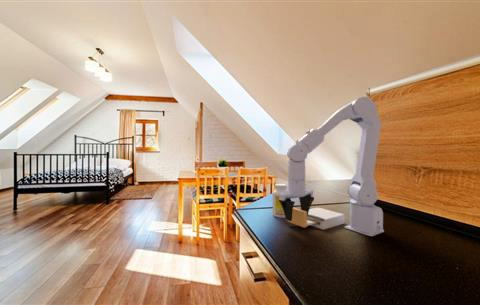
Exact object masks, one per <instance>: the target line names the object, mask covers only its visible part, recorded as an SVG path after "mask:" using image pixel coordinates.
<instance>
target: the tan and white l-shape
mask: <svg viewBox="0 0 480 305" xmlns="http://www.w3.org/2000/svg"><path fill="white" fill-rule="evenodd" d="M286 222H289V223H290V224H293V225H296V226H299V227H302V228H308V226H312V224H316V223H320V222H319V221H316V220H313V219H310V218H307V212H306V211H303V210H301V208H296V207H293V211H292V221H288V220H286Z"/></svg>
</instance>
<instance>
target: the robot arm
mask: <svg viewBox="0 0 480 305" xmlns="http://www.w3.org/2000/svg"><path fill="white" fill-rule="evenodd" d="M377 107H378V105H377V103H376V102H375V101H373V100H372V99H371V97H367V96H361V97H358V98H357V99H355V100H353V101H351V102H348V103H347V104H345V105H344V106H342V107H341V108H339V109H338V110H337V111H335V112H334V113H333V114H331V116H330V117H329V118H328V119H327V120H326V121H324V123H322V124H321V125H320V127H318V128H311V129H308V130H306V131H305V135H303V136H302V137H301V138H300V139H299V140H298V139H296V140H295V141H294V143H295V144H294V145H291V146H290V147H289V148H288V150H287V152H286V156H287V157H288V166H287V167H288V173H287V174H288V175H287V176H288V177H287V179H288V184H287V185H288V186H287V187H288V188H287V189H286V190H287V192H285V193H281V194H279V202H280V204H281V205H282V208H283V210H284V214H285V217H284V219H285V220H286V221H287V220H288V221H292V211H293V208H294V206H295V204H296V203H295V201H293V200H292V199H298V198H299V204H300V210H303V211H306V212H307V216H308V212H309V209H311V208H310V207H311V206H312V203H313V202H314V200H315V197H314V190H313V189H306V160H307V157H308V154H310V153H311V152H313V151H314V150H315V149H316V148H317V147H319V146H320V145H321V144H322V143H324V142H325V136H326V135H327V134H328V133H329V132H331V131H332V130H333V129H334V128H336V127H337V126H338V125H339V124H341V123H342V122H344V121H347V120H350V121H352V122H354V123H356V124H357V125H358V126H359V127H360V128H361V129H362V130H361V136H360V141H359V143H360V144H359V149H358V156H357V161H356V162H357V164H356V168H355V174H354V175H353V176H352V178H351V182H350V184H349V185H348V187H347V194H348V196H349V198H350V200H349V224H348V225H345V226H344V227H343V228H344V229H346V230H350V231H353V232H356V233H359V234H362V235H366V236H368V237H369V236H370V237H374V236H377V235H379V234H382V233H385V230H384V212H383V209H382V208H381V207H379V206H377V205H375V203H376V202H377V200H378V198H379V197H378V196H379V194H378V190H377V181H376V180H375V178H374V174H375V166H376V160H377V159H376V158H377V155H378V148H379V140H380V135H381V129H382V122H381V119H380V116H379V114H378V111H377ZM288 221H287V222H288Z"/></svg>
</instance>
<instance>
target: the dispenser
mask: <svg viewBox="0 0 480 305" xmlns="http://www.w3.org/2000/svg"><path fill="white" fill-rule="evenodd" d="M345 216H346V214H345V213H341V212H337V211H334V210H333V211H332V210H330V209H326V208H323V207H313V208H310V209H309V212H308V216H307V218H310V219H313V220H316V221H319V222H320V223H316V224H312V225H311V227H315V228H317V229H320V230H327V229H330V228H333V227H337V226H340V225H343V224H345V221H346V220H345V218H346V217H345Z"/></svg>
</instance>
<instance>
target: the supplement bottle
mask: <svg viewBox="0 0 480 305" xmlns="http://www.w3.org/2000/svg"><path fill="white" fill-rule="evenodd" d="M287 185H288V184H285V183H275V184H274V188H275V189H274V190H273V192H272V216H274V217H276V218H280V219H281V218H283V219H285V214H284V210H283V208H282V205H281V204H280V202H279V194H281V193H285V192H287V190H288V188H287V187H288V186H287Z"/></svg>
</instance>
